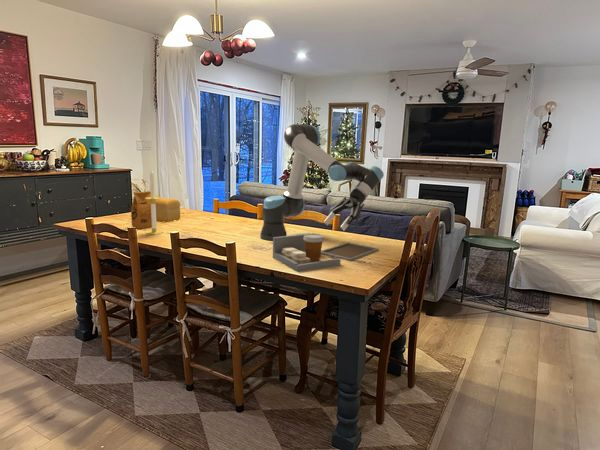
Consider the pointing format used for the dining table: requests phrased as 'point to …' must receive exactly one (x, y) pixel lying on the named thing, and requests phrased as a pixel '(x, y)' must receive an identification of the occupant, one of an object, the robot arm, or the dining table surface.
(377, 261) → the dining table surface
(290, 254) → the offcut stack
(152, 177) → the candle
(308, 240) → the disposable coffee cup
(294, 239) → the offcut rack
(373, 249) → the empty picture frame
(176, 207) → the bread
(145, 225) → the coffee package
